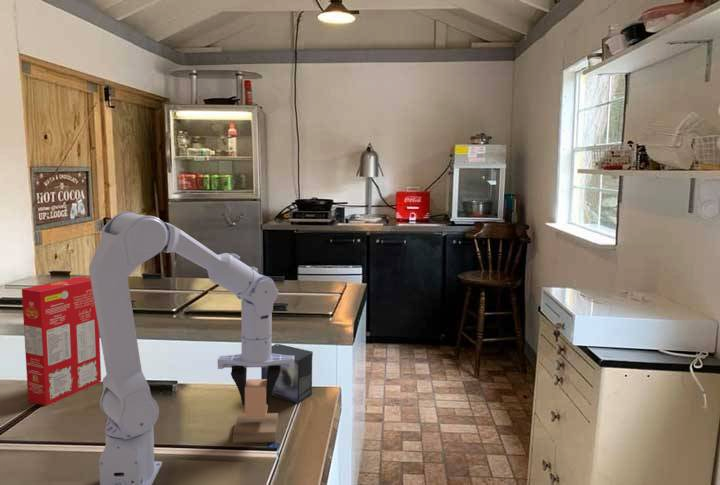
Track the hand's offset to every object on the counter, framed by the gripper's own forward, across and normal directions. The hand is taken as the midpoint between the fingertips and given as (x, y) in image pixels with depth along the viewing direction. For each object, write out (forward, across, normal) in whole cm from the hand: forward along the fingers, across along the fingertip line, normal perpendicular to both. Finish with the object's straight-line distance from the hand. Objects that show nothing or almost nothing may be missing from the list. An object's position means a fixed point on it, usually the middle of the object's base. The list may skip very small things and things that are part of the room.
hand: (256, 402), depth 104 cm
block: (+2, 0, 0) cm, 2 cm away
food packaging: (+6, +45, -21) cm, 50 cm away
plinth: (+6, 0, 0) cm, 6 cm away
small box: (+6, -5, -18) cm, 20 cm away
